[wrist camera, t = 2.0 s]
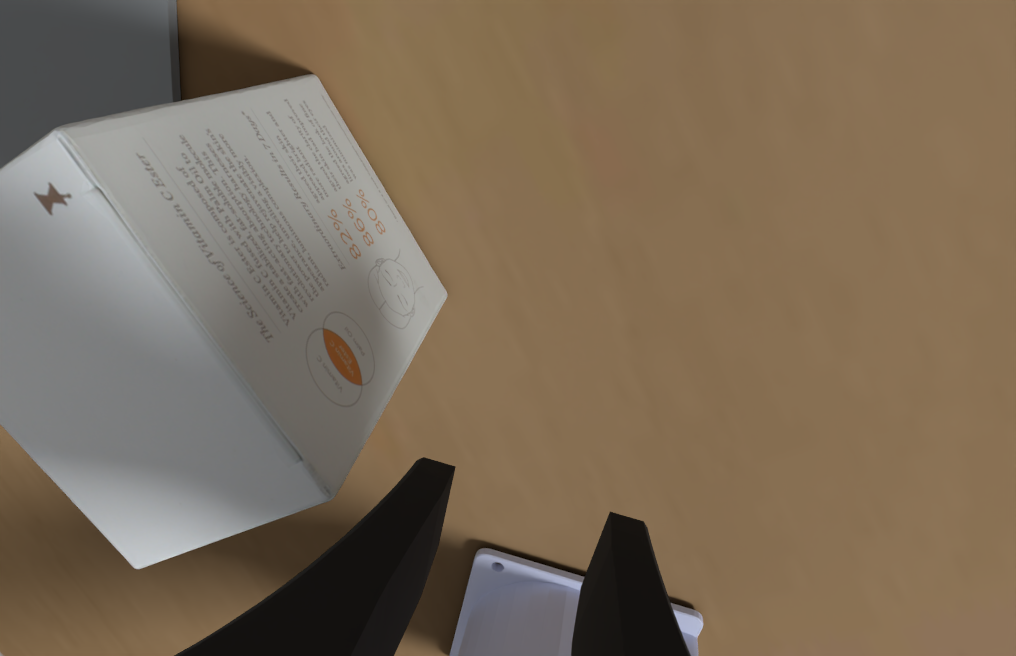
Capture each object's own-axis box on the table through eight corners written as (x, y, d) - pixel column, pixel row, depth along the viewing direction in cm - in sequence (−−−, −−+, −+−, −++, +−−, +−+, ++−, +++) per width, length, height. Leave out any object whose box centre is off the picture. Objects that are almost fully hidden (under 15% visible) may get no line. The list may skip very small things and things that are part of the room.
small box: (184, 154, 21) (-163, 264, 12) (320, 68, 19) (42, 114, 10) (322, 357, 24) (130, 581, 14) (454, 297, 22) (334, 507, 12)
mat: (172, -91, 18) (162, -92, 18) (193, 380, 26) (187, 385, 25) (-217, -184, 19) (-233, -187, 18) (-81, 300, 27) (-90, 305, 26)
